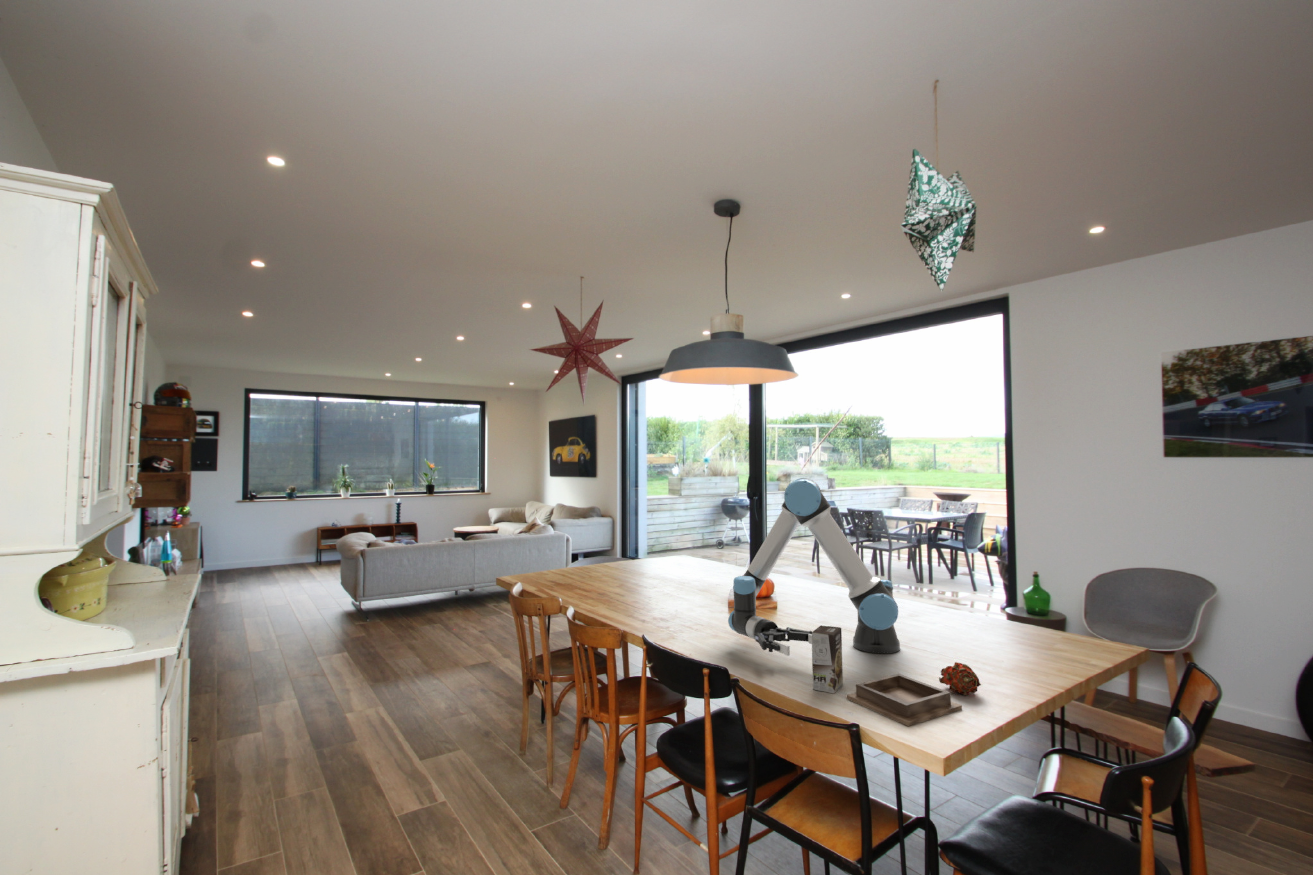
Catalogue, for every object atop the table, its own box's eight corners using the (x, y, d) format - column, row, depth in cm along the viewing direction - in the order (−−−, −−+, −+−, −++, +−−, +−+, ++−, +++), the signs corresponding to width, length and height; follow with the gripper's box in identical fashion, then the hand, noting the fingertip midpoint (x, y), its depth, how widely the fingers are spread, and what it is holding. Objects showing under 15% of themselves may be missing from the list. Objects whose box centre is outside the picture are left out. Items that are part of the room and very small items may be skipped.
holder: (898, 684, 174) (897, 670, 174) (961, 709, 156) (961, 693, 156) (846, 698, 164) (846, 683, 165) (908, 726, 147) (907, 709, 147)
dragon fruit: (977, 707, 161) (943, 697, 172) (994, 684, 164) (960, 676, 175) (958, 682, 161) (925, 674, 172) (975, 659, 164) (943, 653, 175)
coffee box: (835, 694, 168) (833, 634, 168) (812, 689, 171) (810, 631, 172) (843, 683, 176) (842, 627, 176) (821, 679, 179) (820, 624, 180)
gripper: (792, 636, 205) (838, 653, 187) (731, 647, 194) (773, 667, 175) (792, 613, 206) (837, 628, 187) (730, 623, 194) (772, 640, 175)
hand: (806, 647), depth 181 cm, fingers open, 13 cm apart
